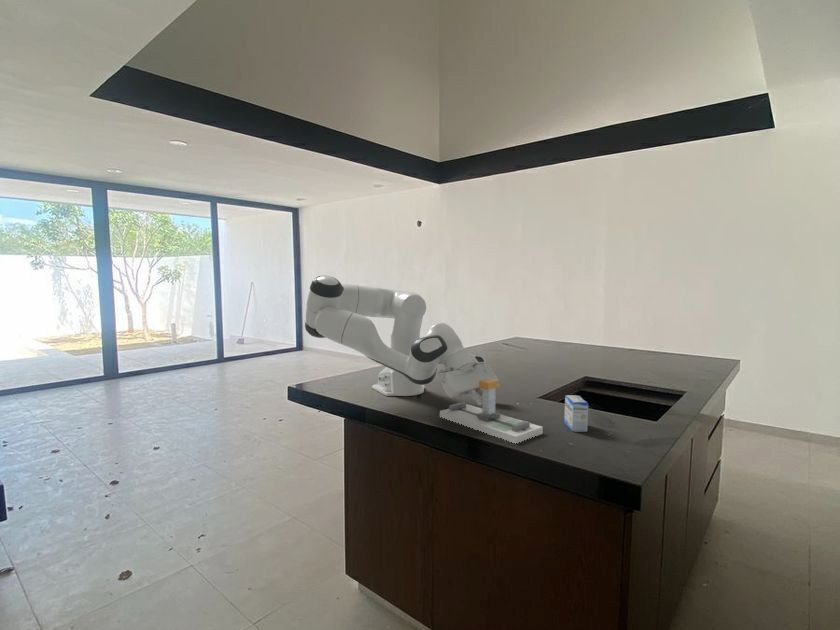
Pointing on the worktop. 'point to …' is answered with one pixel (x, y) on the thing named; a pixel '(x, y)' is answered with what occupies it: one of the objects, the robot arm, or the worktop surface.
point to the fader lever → (488, 399)
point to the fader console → (492, 423)
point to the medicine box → (576, 413)
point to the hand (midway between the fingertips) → (483, 403)
